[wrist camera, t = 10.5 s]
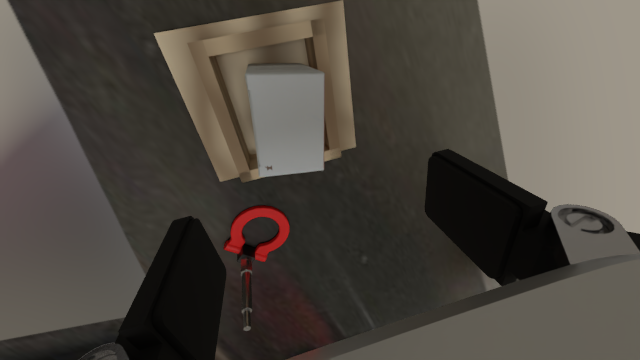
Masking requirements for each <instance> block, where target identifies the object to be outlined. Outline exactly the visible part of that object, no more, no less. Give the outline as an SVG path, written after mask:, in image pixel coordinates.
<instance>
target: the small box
mask: <svg viewBox="0 0 640 360" xmlns="http://www.w3.org/2000/svg"><path fill="white" fill-rule="evenodd" d="M245 80H246V85H247V91H248V96H249V103H250V109H251V116H252V124H253V131H254V138H255V146H256V153H257V162H258V173H259V177H267V176H276V175H286V174H295V173H304V172H313V171H322V170H324V121H325V73H324V72H322V71H319V70H317V69H314V68H311V67H309V66H306V65H304V64H301V63H259V64H248V67H247V70H246V73H245Z"/></svg>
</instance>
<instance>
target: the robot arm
mask: <svg viewBox="0 0 640 360" xmlns="http://www.w3.org/2000/svg"><path fill="white" fill-rule="evenodd" d="M546 205H547V201H545V200H543V199H541V198H539V197H538V196H536V195H534V194H532V193H530V192H528V191H526V190H524V189H523V188H521V187H519V186H517V185H515V184H513V183H511V182H509V181H508V180H506V179H504V178H502V177H500V176H498V175H496V174H495V173H493V172H491V171H489V170H487V169H485V168H483V167H482V166H480V165H478V164H476V163H474V162H472V161H470V160H468V159H467V158H465V157H463V156H461V155H459V154H457V153H455V152H454V151H452V150H449V149H446V150H442V151H438V152H434V153H433V154H432V157H430V158H429V161H428V174H427V187H426V199H425V212H426V214H427V216H428V217H429V218H430V219H431V220H432V221H433V222H434V223H435V224H436V225H437V226H438V227H439V228H440V229H441V230H442V231H443V232H444V233H445V234H446V235H447V236H448V237H449V238H450V239H451V240H452V241H453V242H454V243H455V244H456V245H457V246H458V247H459V248H460V249H461V250H462V251H463V252H464V253H465V254H466V255H467V256H468V257H469V258H470V259H471V260H472V261H473V262H474V263H475V264H476V265H477V266H478V267H479V268H480V269H481V270H482V271H483V272H484V273H485V274H486V275H487V276H488V277H490V278H494V279H495V280H496V281H497V282H498V283H499V284H500V285H501V286H502V287H499V288H496V289H493V290H490V291H487V292H484V293H481V294H478V295H475V296H472V297H469V298H466V299H463V300H460V301H457V302H454V303H451V304H448V305H445V306H442V307H439V308H436V309H433V310H430V311H427V312H424V313H421V314H418V315H415V316H412V317H409V318H406V319H403V320H400V321H397V322H394V323H391V324H388V325H385V326H382V327H379V328H376V329H374V330H371V331H368V332H365V333H362V334H359V335H356V336H353V337H350V338H347V339H344V340H341V341H338V342H335V343H332V344H330V345H327V346H324V347H321V348H318V349H315V350H312V351H309V352H306V353H303V354H300V355H298V356H295V357H292V358H289V359H286V360H640V234H637V233H632V232H627V231H625V229H624V228H623V227H622V225H621V224H620V223H619V222H618V221H617V220H616V219H615V218H613V217H611V216H609V215H608V214H606V213H604V212H601V211H599V210H596V209H593V208H590V207H586V206H580V205H568V204H567V205H559V206H557V207H554V208H553V209H552V211H551V212H550V213H549V212H548V211H546V210H545V208H546ZM225 281H226V268H225V266H224V264H223V262H222V260H221V258H220V256H219V255H218V253H217V251H216V249H215V247H214V246H213V244H212V242H211V240H210V238H209V236H208V235H207V233H206V231H205V229H204V227H203V226H202V224H201V222H200V220H199V219H197V218H196V219H194V218H193V217H192V216H188V217H185V218H181V219H177V220H174V221H173V222H172V223H171V225H170V228H169V230H168V232H167V234H166V236H165V238H164V240H163V242H162V244H161V246H160V248H159V250H158V252H157V254H156V256H155V258H154V260H153V262H152V264H151V266H150V268H149V270H148V272H147V274H146V277H145V278H144V281H143V283H142V285H141V287H140V289H139V291H138V293H137V295H136V297H135V299H134V301H133V303H132V305H131V307H130V309H129V311H128V313H127V315H126V317H125V319H124V321H123V323H122V325H121V327H120V329H119V331H118V332H119V336H118V338H117V340H116V342H115V343H109V344H105V345H102V346H100V347H98V348H96V349H93V350H92V351H90V352H89V353H87V354H86V355H84V356H83V357H81V358H80V359H79V360H214V359H215V352H216V345H217V338H218V331H219V324H220V317H221V309H222V302H223V295H224V288H225ZM507 284H508V285H507ZM504 285H505V286H504Z"/></svg>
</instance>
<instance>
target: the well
mask: <svg viewBox="0 0 640 360" xmlns="http://www.w3.org/2000/svg"><path fill="white" fill-rule="evenodd" d="M154 35H155V38H156V40H157V42H158V44H159V46H160V49H161V51H162V53H163V55H164V58H165V60H166V62H167V64H168V66H169V69H170V71H171V73H172V75H173V78H174V80H175V82H176V84H177V86H178V89H179V91H180V93H181V95H182V98H183V100H184V102H185V104H186V106H187V109H188V111H189V113H190V115H191V118H192V120H193V122H194V124H195V126H196V129H197V131H198V133H199V135H200V138H201V140H202V142H203V144H204V146H205V149H206V151H207V153H208V155H209V158H210V160H211V162H212V164H213V166H214V169H215V171H216V173H217V175H218V178H219V180H220V182H221V181H225V180H229V179H233V178H237V177H240V179H241V181H242V183H243V182H247V181H251V180H255V179H259V178H262V177H259V173H258V162H257V153H256V146H255V138H254V131H253V124H252V116H251V109H250V103H249V96H248V91H247V85H246V80H245V73H246V70H247V67H248V64H259V63H301V64H304V65H306V66H309V67H311V68H314V69H317V70H319V71H322V72H324V73H325V121H324V161H328V160H332V159H336V158H340V157H341V151H342V150H346V149H350V148H354V147H356V142H355V130H354V119H353V108H352V96H351V85H350V73H349V62H348V50H347V39H346V27H345V16H344V5H343V0H342V1H336V2H330V3H325V4H319V5H313V6H307V7H302V8H296V9H290V10H285V11H279V12H273V13H267V14H262V15H256V16H250V17H245V18H239V19H233V20H227V21H222V22H216V23H210V24H204V25H199V26H193V27H187V28H182V29H176V30H170V31H164V32H159V33H154Z"/></svg>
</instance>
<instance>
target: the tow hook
mask: <svg viewBox="0 0 640 360" xmlns="http://www.w3.org/2000/svg"><path fill="white" fill-rule="evenodd" d="M257 217H269V218H272V219H273V220H275V221H276V222H277V223H278V225H279V231H278V234H277V235H276V237H274V238H273V239H272V240H270V241H269V242H266V243H261V244H259V245H258V246H257V247H256V249H254V248H252V247H249V246H246V245H244V243H245V238H244V237H243V235H242V229H243V227H244V225H245V224H246V223H247V222H248V221H250V220H251V219H253V218H257ZM288 234H289V223H288V219H287V217H286V216H285V215H284V213H283V212H281V211H280V210H279V209H276V208H274V207H271V206H264V205H263V206H255V207H251V208H248V209H246V210H244V211H243V212H241V213H240V214H239V215H238V216H237V217H236V218H235V220H234V221H233V223H232V226H231V238H230V240H227V241H226V243H225V245H224V250H227V251H230V252H234V253H237V262H239V263H241V276H242V314H243V329H244V330H245V331H248V330H250V329H251V317H250V313H251V312H252V289H251V275H252V263H253V261H254V260H255V259H256V260H259V261H262V262H264V261H265V260H266V258H267V254H268V253H269V252H270V251H273V250H275V249H276V248H278V247H279V246H281V245H282V244H283V243H284V241H285V240H286V239H287V237H288Z"/></svg>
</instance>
